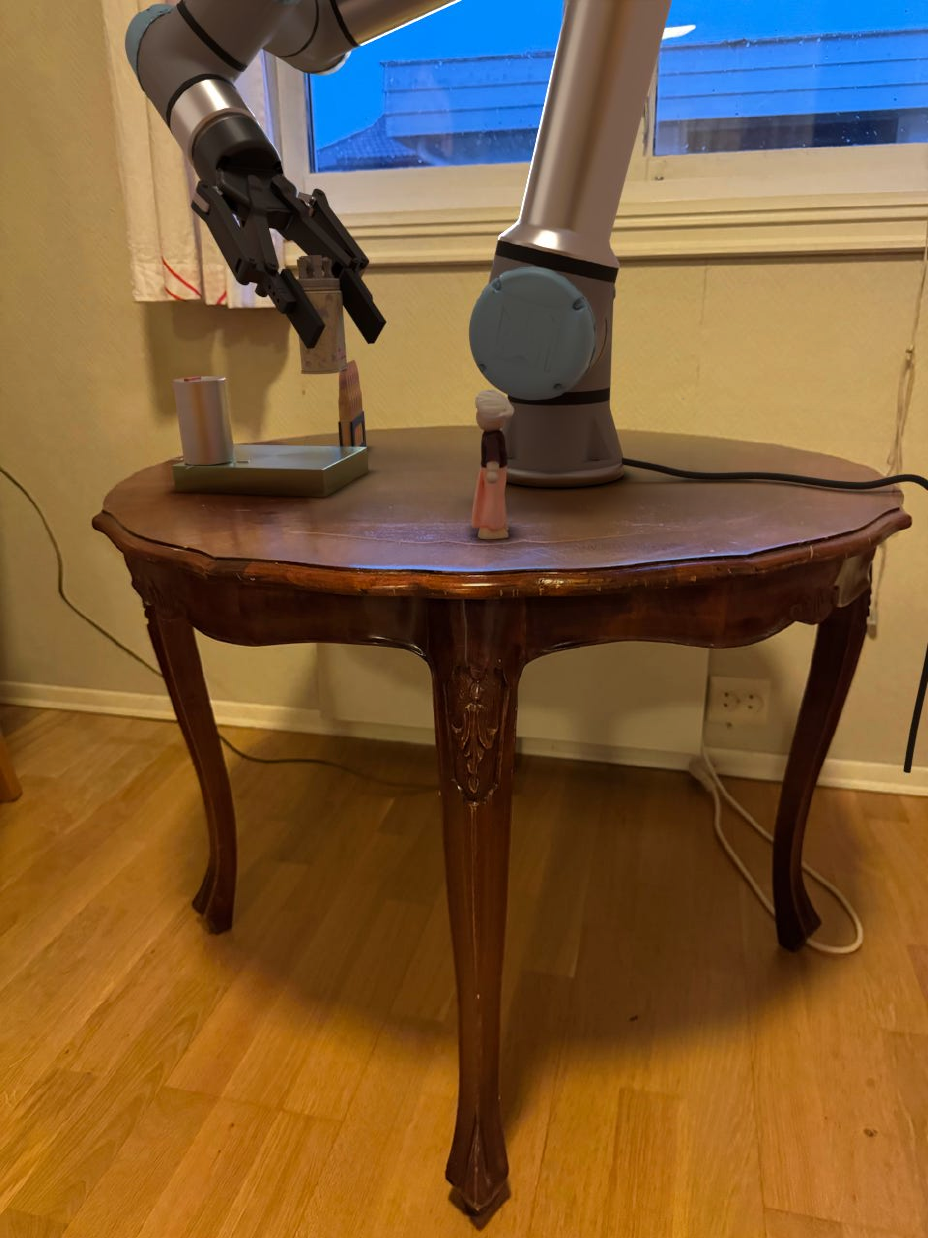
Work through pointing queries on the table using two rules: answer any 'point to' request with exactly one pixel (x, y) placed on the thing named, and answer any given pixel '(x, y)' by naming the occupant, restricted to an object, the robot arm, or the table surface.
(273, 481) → the panel
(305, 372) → the lighter
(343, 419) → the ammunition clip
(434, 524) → the table surface
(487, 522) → the grandmother figurine
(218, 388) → the grey metal cylinder
